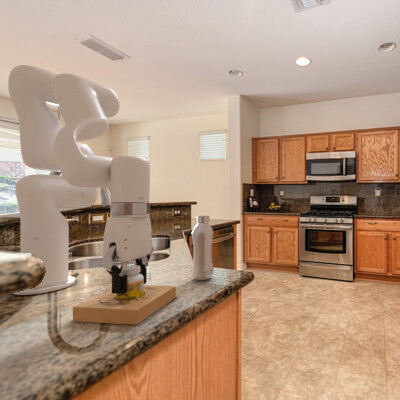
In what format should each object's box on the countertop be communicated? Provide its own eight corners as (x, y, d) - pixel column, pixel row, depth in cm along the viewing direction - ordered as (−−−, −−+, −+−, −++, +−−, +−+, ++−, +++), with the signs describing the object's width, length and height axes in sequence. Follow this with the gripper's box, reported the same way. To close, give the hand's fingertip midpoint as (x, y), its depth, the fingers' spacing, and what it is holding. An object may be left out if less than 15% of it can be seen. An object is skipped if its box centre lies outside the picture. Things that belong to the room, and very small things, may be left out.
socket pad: (72, 321, 52) (72, 306, 52) (124, 295, 66) (124, 284, 66) (136, 324, 51) (136, 310, 51) (175, 297, 65) (175, 286, 65)
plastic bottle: (206, 283, 76) (207, 217, 76) (186, 281, 78) (187, 216, 77) (217, 276, 83) (218, 215, 82) (199, 275, 84) (199, 215, 84)
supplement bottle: (147, 302, 62) (147, 263, 62) (138, 312, 57) (138, 269, 57) (122, 304, 61) (122, 264, 61) (110, 314, 55) (111, 271, 55)
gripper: (141, 208, 67) (140, 276, 67) (80, 212, 50) (80, 302, 50) (168, 208, 67) (167, 277, 67) (116, 212, 50) (115, 304, 50)
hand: (130, 287), depth 59 cm, fingers closed on supplement bottle, 5 cm apart
